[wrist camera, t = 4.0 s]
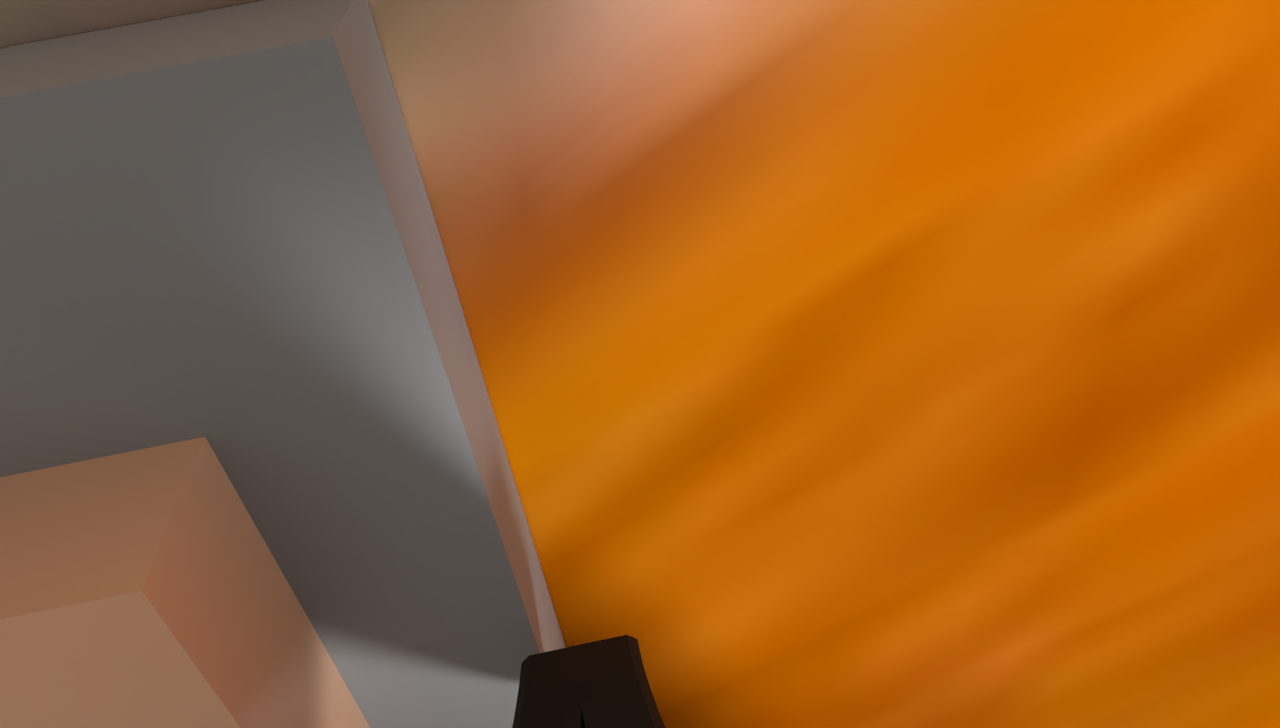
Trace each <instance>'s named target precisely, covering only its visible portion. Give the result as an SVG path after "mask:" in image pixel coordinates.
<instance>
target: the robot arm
mask: <svg viewBox="0 0 1280 728" xmlns="http://www.w3.org/2000/svg"><path fill="white" fill-rule="evenodd" d="M512 728H665V726H664V724H663V721H662V719H661V716H660V714H659V711H658V709H657V706H656V703H655V701H654V698H653V695H652V693H651V690H650V687H649V684H648V680H647V677H646V674H645V670H644V667H643V663H642V659H641V654H640V650H639V645H638V641H637V639H635V638H633V637H631V636H628V635H624V636H620V637H615V638H610V639H605V640H600V641H596V642H591V643H586V644H581V645H577V646H572V647H567V648H562V649H557V650H553V651H548V652H543V653H538V654H533V655H529V656H528V657H527V658H526V659H525V660H524V661H523V662H522V663H521V672H520V682H519V690H518V696H517V703H516V709H515V715H514V721H513V726H512Z"/></svg>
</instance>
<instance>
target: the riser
mask: <svg viewBox="0 0 1280 728" xmlns="http://www.w3.org/2000/svg"><path fill="white" fill-rule="evenodd" d="M201 437H206V439H207V441H208V443H209V444H210V446H211V448H212V450H213V451H214V453H215V455H216V457H217V458H218V460H219V462H220V464H221V465H222V467H223V469H224V471H225V472H226V474H227V476H228V478H229V480H230V481H231V483H232V485H233V487H234V488H235V490H236V492H237V494H238V495H239V497H240V499H241V501H242V502H243V504H244V506H245V508H246V510H247V511H248V513H249V515H250V517H251V518H252V520H253V522H254V524H255V525H256V527H257V529H258V531H259V532H260V534H261V536H262V538H263V539H264V541H265V543H266V545H267V547H268V548H269V550H270V552H271V554H272V555H273V557H274V559H275V561H276V562H277V564H278V566H279V568H280V569H281V571H282V573H283V575H284V577H285V578H286V580H287V582H288V584H289V585H290V587H291V589H292V591H293V592H294V594H295V596H296V598H297V599H298V601H299V603H300V605H301V606H302V608H303V610H304V612H305V614H306V615H307V617H308V619H309V621H310V622H311V624H312V626H313V628H314V629H315V631H316V633H317V635H318V636H319V638H320V640H321V642H322V644H323V645H324V647H325V649H326V651H327V652H328V654H329V656H330V658H331V659H332V661H333V663H334V665H335V666H336V668H337V670H338V672H339V673H340V675H341V677H342V679H343V681H344V682H345V684H346V686H347V688H348V689H349V691H350V693H351V695H352V696H353V698H354V700H355V702H356V703H357V705H358V707H359V709H360V711H361V712H362V714H363V716H364V718H365V719H366V721H367V723H368V725H369V726H370V728H512V726H513V721H514V715H515V709H516V703H517V696H518V690H519V682H520V672H521V663H522V662H523V661H524V660H525V659H526V658H527V657H528V656H529V655H533V654H538V653H543V652H548V651H553V650H557V649H562V648H566V647H565V644H564V640H563V637H562V634H561V630H560V627H559V624H558V621H557V617H556V614H555V611H554V608H553V604H552V601H551V598H550V595H549V591H548V588H547V585H546V581H545V578H544V575H543V572H542V568H541V565H540V562H539V559H538V555H537V552H536V549H535V546H534V542H533V539H532V536H531V533H530V529H529V526H528V523H527V519H526V516H525V513H524V510H523V506H522V503H521V500H520V497H519V493H518V490H517V487H516V484H515V480H514V477H513V474H512V470H511V467H510V464H509V461H508V457H507V454H506V451H505V448H504V444H503V441H502V438H501V435H500V431H499V428H498V425H497V421H496V418H495V415H494V412H493V408H492V405H491V402H490V399H489V395H488V392H487V389H486V386H485V382H484V379H483V376H482V372H481V369H480V366H479V363H478V359H477V356H476V353H475V350H474V346H473V343H472V340H471V337H470V333H469V330H468V327H467V323H466V320H465V317H464V314H463V310H462V307H461V304H460V301H459V297H458V294H457V291H456V288H455V284H454V281H453V278H452V274H451V271H450V268H449V265H448V261H447V258H446V255H445V252H444V248H443V245H442V242H441V239H440V235H439V232H438V229H437V226H436V222H435V219H434V216H433V212H432V209H431V206H430V203H429V199H428V196H427V193H426V190H425V186H424V183H423V180H422V177H421V173H420V170H419V167H418V163H417V160H416V157H415V154H414V150H413V147H412V144H411V141H410V137H409V134H408V131H407V128H406V124H405V121H404V118H403V114H402V111H401V108H400V105H399V101H398V98H397V95H396V92H395V88H394V85H393V82H392V79H391V75H390V72H389V69H388V65H387V62H386V59H385V56H384V52H383V49H382V46H381V43H380V39H379V36H378V33H377V30H376V26H375V23H374V20H373V16H372V13H371V10H370V7H369V3H368V0H263V1H257V2H252V3H246V4H241V5H235V6H230V7H224V8H219V9H213V10H208V11H202V12H197V13H191V14H186V15H180V16H175V17H169V18H164V19H158V20H153V21H147V22H142V23H136V24H131V25H125V26H120V27H114V28H109V29H103V30H98V31H92V32H86V33H81V34H75V35H70V36H64V37H59V38H53V39H48V40H42V41H37V42H31V43H26V44H20V45H15V46H9V47H4V48H0V477H5V476H10V475H15V474H20V473H25V472H30V471H35V470H40V469H45V468H50V467H55V466H60V465H65V464H70V463H75V462H80V461H85V460H90V459H95V458H100V457H105V456H110V455H115V454H120V453H125V452H130V451H135V450H140V449H145V448H151V447H156V446H161V445H166V444H171V443H176V442H181V441H186V440H191V439H196V438H201Z"/></svg>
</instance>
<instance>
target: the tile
mask: <svg viewBox="0 0 1280 728" xmlns="http://www.w3.org/2000/svg"><path fill="white" fill-rule="evenodd" d="M0 728H370V726H369V725H368V723H367V721H366V719H365V718H364V716H363V714H362V712H361V711H360V709H359V707H358V705H357V703H356V702H355V700H354V698H353V696H352V695H351V693H350V691H349V689H348V688H347V686H346V684H345V682H344V681H343V679H342V677H341V675H340V673H339V672H338V670H337V668H336V666H335V665H334V663H333V661H332V659H331V658H330V656H329V654H328V652H327V651H326V649H325V647H324V645H323V644H322V642H321V640H320V638H319V636H318V635H317V633H316V631H315V629H314V628H313V626H312V624H311V622H310V621H309V619H308V617H307V615H306V614H305V612H304V610H303V608H302V606H301V605H300V603H299V601H298V599H297V598H296V596H295V594H294V592H293V591H292V589H291V587H290V585H289V584H288V582H287V580H286V578H285V577H284V575H283V573H282V571H281V569H280V568H279V566H278V564H277V562H276V561H275V559H274V557H273V555H272V554H271V552H270V550H269V548H268V547H267V545H266V543H265V541H264V539H263V538H262V536H261V534H260V532H259V531H258V529H257V527H256V525H255V524H254V522H253V520H252V518H251V517H250V515H249V513H248V511H247V510H246V508H245V506H244V504H243V502H242V501H241V499H240V497H239V495H238V494H237V492H236V490H235V488H234V487H233V485H232V483H231V481H230V480H229V478H228V476H227V474H226V472H225V471H224V469H223V467H222V465H221V464H220V462H219V460H218V458H217V457H216V455H215V453H214V451H213V450H212V448H211V446H210V444H209V443H208V441H207V439H206V437H201V438H196V439H191V440H186V441H181V442H176V443H171V444H166V445H161V446H156V447H151V448H145V449H140V450H135V451H130V452H125V453H120V454H115V455H110V456H105V457H100V458H95V459H90V460H85V461H80V462H75V463H70V464H65V465H60V466H55V467H50V468H45V469H40V470H35V471H30V472H25V473H20V474H15V475H10V476H5V477H0Z"/></svg>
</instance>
